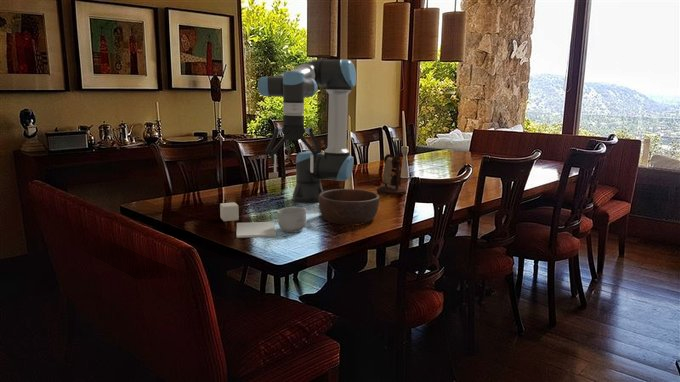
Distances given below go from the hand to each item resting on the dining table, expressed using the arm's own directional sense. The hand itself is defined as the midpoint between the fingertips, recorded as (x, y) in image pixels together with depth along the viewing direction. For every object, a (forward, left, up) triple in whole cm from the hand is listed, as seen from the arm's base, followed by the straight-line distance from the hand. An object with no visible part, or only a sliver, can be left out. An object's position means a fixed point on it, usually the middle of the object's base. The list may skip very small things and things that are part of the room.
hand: (293, 172), depth 192 cm
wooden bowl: (-24, -12, -22) cm, 35 cm away
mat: (+14, 0, -22) cm, 26 cm away
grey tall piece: (-55, -56, -22) cm, 81 cm away
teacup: (0, 0, -22) cm, 22 cm away
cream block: (+24, -18, -22) cm, 37 cm away
